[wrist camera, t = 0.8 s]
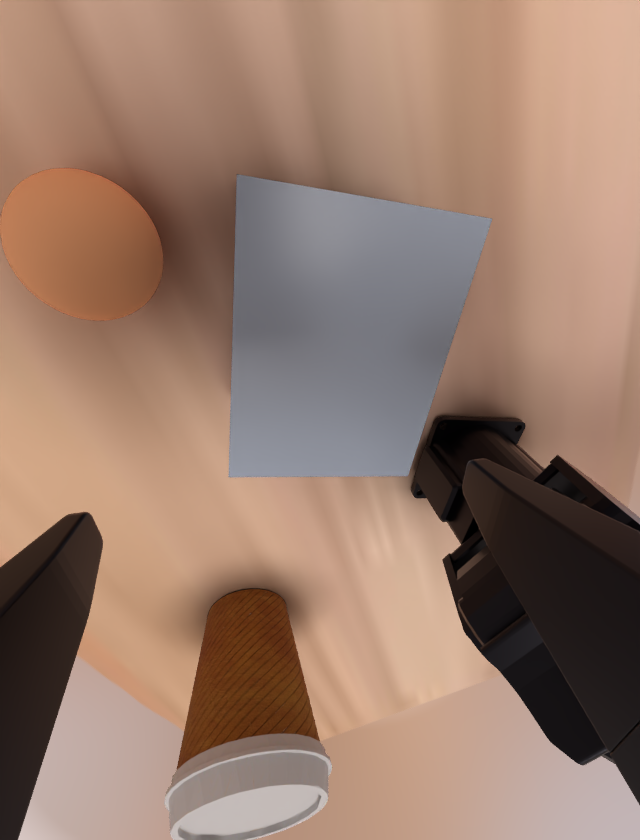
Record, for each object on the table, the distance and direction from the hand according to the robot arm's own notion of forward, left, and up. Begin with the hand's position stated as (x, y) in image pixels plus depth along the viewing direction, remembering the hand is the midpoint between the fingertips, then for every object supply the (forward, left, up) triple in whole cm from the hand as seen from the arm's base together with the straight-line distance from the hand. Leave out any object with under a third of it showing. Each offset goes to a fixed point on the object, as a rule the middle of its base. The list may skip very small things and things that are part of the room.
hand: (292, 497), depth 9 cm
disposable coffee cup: (0, +23, -12) cm, 26 cm away
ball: (+7, -4, -10) cm, 12 cm away
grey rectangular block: (-2, -2, -12) cm, 12 cm away
